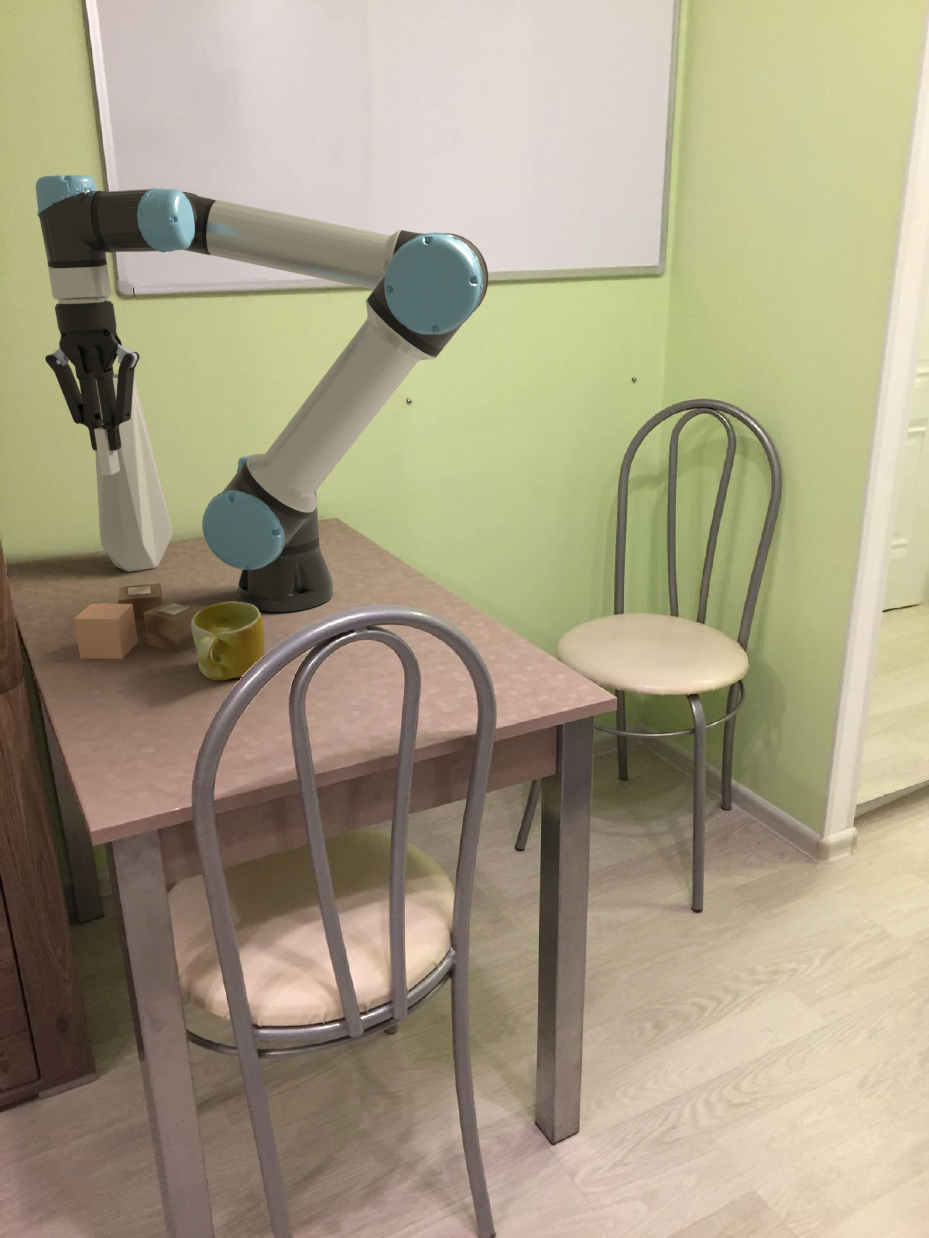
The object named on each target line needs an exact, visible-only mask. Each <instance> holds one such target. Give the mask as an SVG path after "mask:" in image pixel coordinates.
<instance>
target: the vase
mask: <svg viewBox="0 0 929 1238" xmlns="http://www.w3.org/2000/svg"><path fill="white" fill-rule="evenodd" d="M113 382H114V389H115V395H116V396H117V382H118V372H117V373H114V375H113ZM96 384H97V381H96ZM97 391H98V387H97ZM98 397H99V393H98ZM99 403H100V399H99ZM100 410H101V405H100ZM101 416H102V412H101ZM102 420H103V418H102ZM102 425H103V424H102ZM147 425H148V424H147V421H146V417H145V413H144V408H143V405H142V401H141V398H140V392H139V388H138V385H137V381H136V378H135V376H134V383H133V396H132V409H131V419H130V420H128V421H126V422H124V423H121V424H120V425H119V432H120V438H121V449H118V450H117V454H118V460H119V467H120V471H118V472H116V473H114V474H112V475H102V474H101V468H100V462H99V456H98V451H94V452H95V471H96V472H95V473H96V484H97V485H96V486H97V489H96V490H97V505H98V522H99V524H98V525H99V535H100V536H99V539H100V545H101V546H102V548H103V549H104V552H105V553H106V554H107V556H108V557H109V560H111V562H112V563H113V565H114V566H115V567H116V568H118V569H121V570H123V571H125V572H129V573H132V572H138V571H145V570H151V569H156V568H158V567H159V566H160V563H161V561H162V559H163V557H164V555H165V552H166V550H167V548H168V546H169V543H170V542H171V539H172V536H173V528H172V523H171V520H170V519H171V518H170V515H169V509H168V507H167V506H168V505H167V502H166V498H165V495H164V490H163V487H162V486H163V485H162V482H161V478H160V473H159V470H158V466H157V462H156V458H155V453H154V449H153V444H152V441H151V437H150V433H149V430H148V429H149V428H148V426H147Z"/></svg>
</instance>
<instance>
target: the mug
mask: <svg viewBox="0 0 929 1238" xmlns="http://www.w3.org/2000/svg"><path fill="white" fill-rule="evenodd" d="M204 607H205V608H203V609H201V610H200V611H198V612H197V613H196V614H195V615H194V616H193V618H192V621H191V629H192V635H193V638H194V643H195V645H194V646H195V649H196V654H197V657H196V659H197V663H198V669H199V672H201V674H202V675H203V676H204V677H205V678H207V679H209V680H211V679H212V681H218V680H219V682H221V680H222V681H227V680H231V679H234V678H235V679H239V678H241V676H242V675H243V674H244V673H245V672H246V671H247V670H248V669H249V668H250V667H251V666H252V665H253V664H254V663H255V662H257V661H258V660H259V659H260V657H262V656H263V655H264V656H265V630H264V629H265V628H264V619H263V616H262V613H261V612H260V611H259V610H258V608H257V607H256V606H254V605H252V604H249V603H244V602H240V601H236V600H235V601H232V600H231V601H230V600H229V601H222V602H221V601H220V602H217V603H213V604H210V605H207V606H204Z"/></svg>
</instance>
